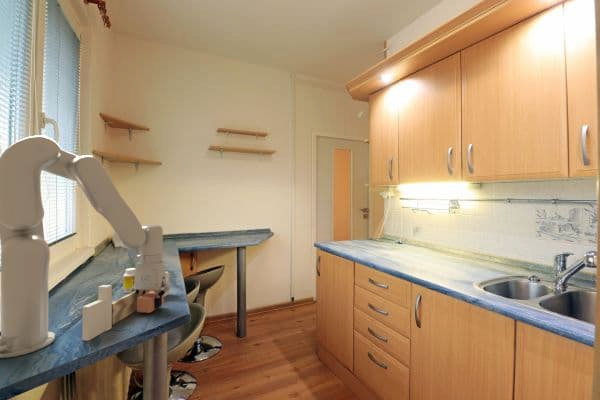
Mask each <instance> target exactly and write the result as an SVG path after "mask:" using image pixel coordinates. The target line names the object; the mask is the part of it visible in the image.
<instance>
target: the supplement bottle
mask: <svg viewBox="0 0 600 400" xmlns="http://www.w3.org/2000/svg"><path fill="white" fill-rule="evenodd" d="M135 271H136V267H129V268H126V269H125V273H124V274H123V278H122V279H123V280H122V281H123V283H122V284H123V287H122V288H123V293H124V294H130V293H132V292H134V291H135V290H134V289H133V288H132V286H133V284H134V280H135Z"/></svg>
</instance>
